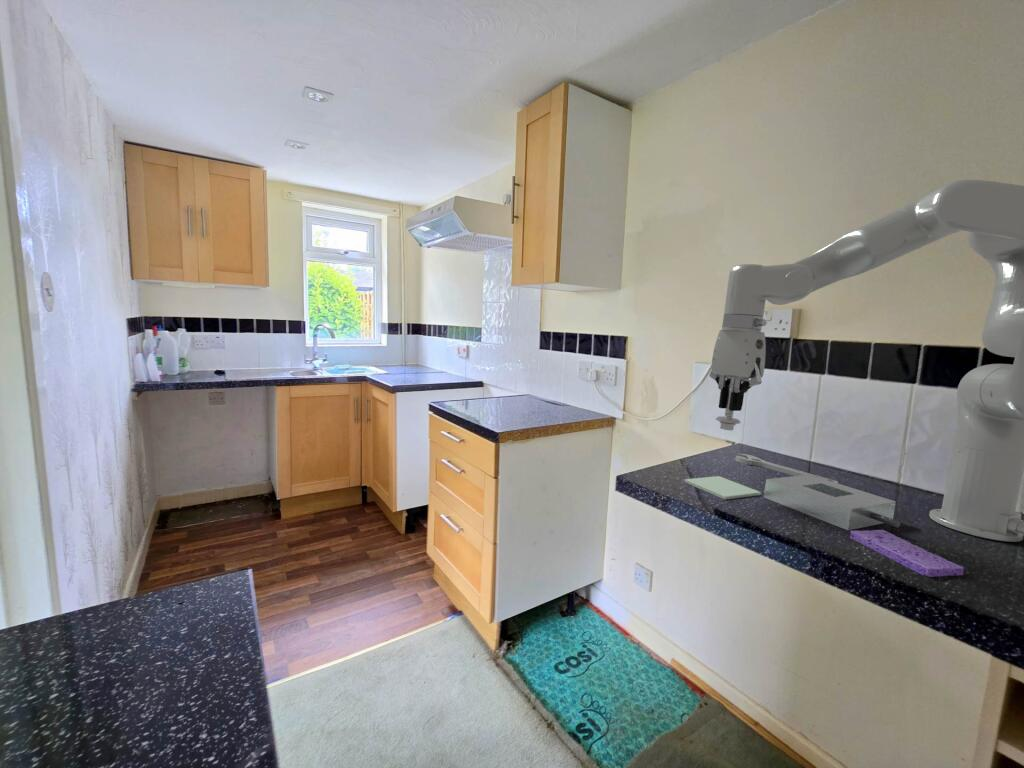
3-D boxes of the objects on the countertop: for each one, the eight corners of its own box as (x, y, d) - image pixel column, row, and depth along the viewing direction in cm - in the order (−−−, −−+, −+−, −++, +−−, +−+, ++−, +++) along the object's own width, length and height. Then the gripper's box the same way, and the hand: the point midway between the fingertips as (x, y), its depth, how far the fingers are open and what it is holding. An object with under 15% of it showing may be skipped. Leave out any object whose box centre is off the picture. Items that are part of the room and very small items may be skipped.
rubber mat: (760, 494, 97) (761, 492, 97) (724, 499, 92) (725, 496, 92) (718, 478, 107) (718, 476, 106) (684, 481, 102) (684, 479, 102)
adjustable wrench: (839, 488, 108) (840, 481, 107) (825, 491, 104) (826, 484, 104) (743, 458, 129) (743, 452, 129) (729, 460, 126) (729, 454, 126)
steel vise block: (917, 530, 83) (921, 509, 82) (873, 540, 77) (877, 518, 76) (806, 491, 101) (809, 474, 101) (763, 497, 95) (766, 479, 95)
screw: (725, 426, 101) (743, 431, 97) (709, 426, 99) (728, 432, 95) (733, 369, 99) (752, 372, 95) (717, 368, 97) (737, 371, 93)
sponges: (881, 539, 79) (883, 529, 78) (964, 578, 66) (966, 567, 66) (847, 540, 77) (849, 529, 77) (926, 580, 65) (928, 568, 65)
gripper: (789, 326, 90) (775, 416, 92) (723, 325, 104) (712, 402, 106) (764, 323, 86) (750, 416, 89) (699, 322, 101) (689, 402, 103)
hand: (729, 408), depth 97 cm, fingers closed on screw, 2 cm apart
